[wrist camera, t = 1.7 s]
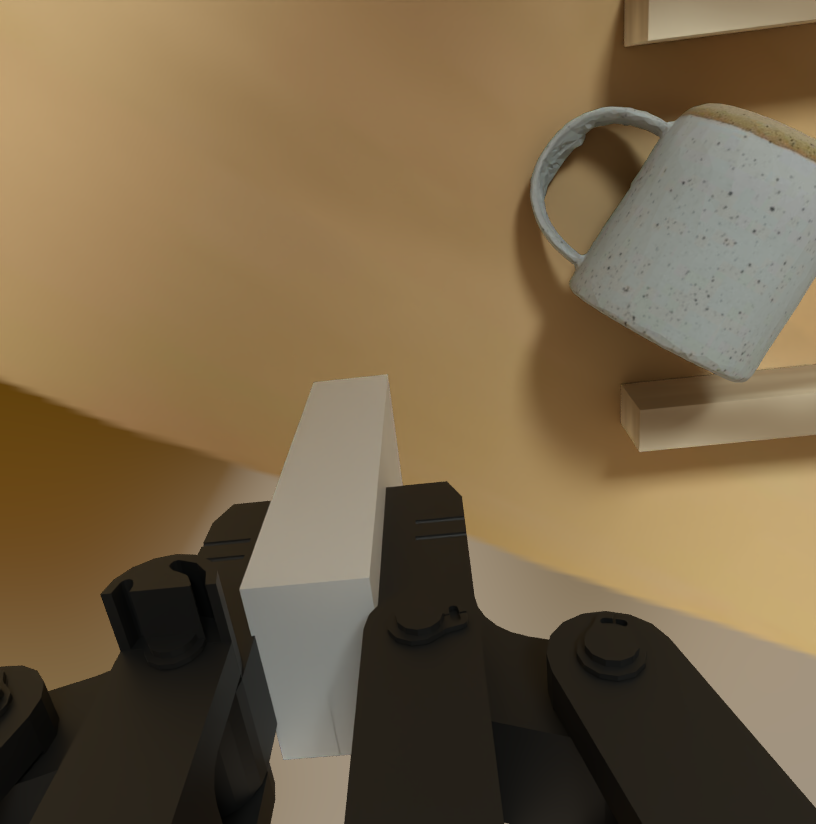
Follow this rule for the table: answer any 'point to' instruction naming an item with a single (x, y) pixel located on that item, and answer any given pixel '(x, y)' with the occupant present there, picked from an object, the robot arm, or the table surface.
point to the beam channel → (713, 395)
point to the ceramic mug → (699, 233)
